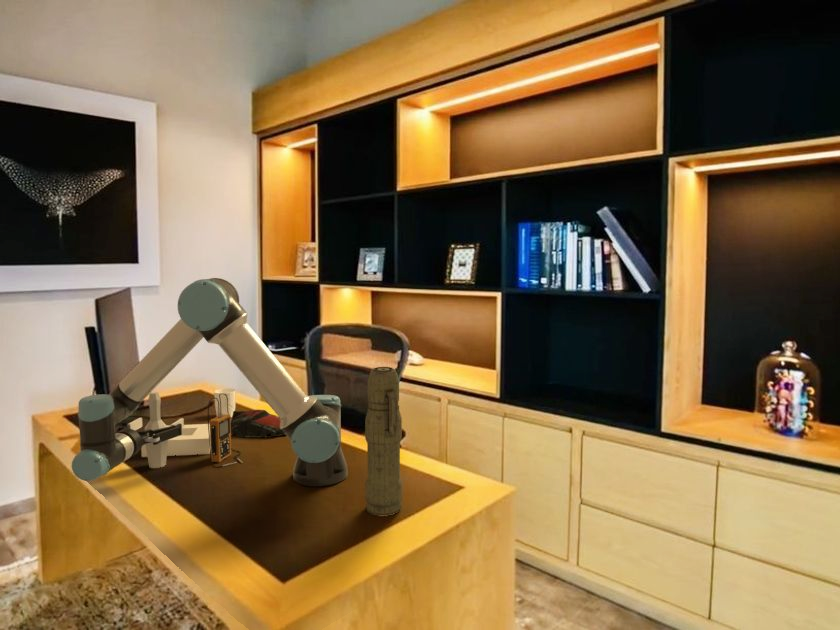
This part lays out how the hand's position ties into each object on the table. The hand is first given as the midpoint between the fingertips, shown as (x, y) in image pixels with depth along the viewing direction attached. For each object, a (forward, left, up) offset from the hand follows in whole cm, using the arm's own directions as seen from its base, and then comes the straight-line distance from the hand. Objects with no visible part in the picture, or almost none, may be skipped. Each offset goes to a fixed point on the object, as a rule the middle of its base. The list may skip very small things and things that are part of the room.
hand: (161, 422), depth 171 cm
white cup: (+47, -9, -12) cm, 50 cm away
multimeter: (-2, -20, -12) cm, 24 cm away
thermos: (-42, -63, -12) cm, 77 cm away
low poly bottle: (-4, +1, -12) cm, 13 cm away
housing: (+12, -2, -12) cm, 17 cm away
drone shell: (+26, -25, -12) cm, 38 cm away
